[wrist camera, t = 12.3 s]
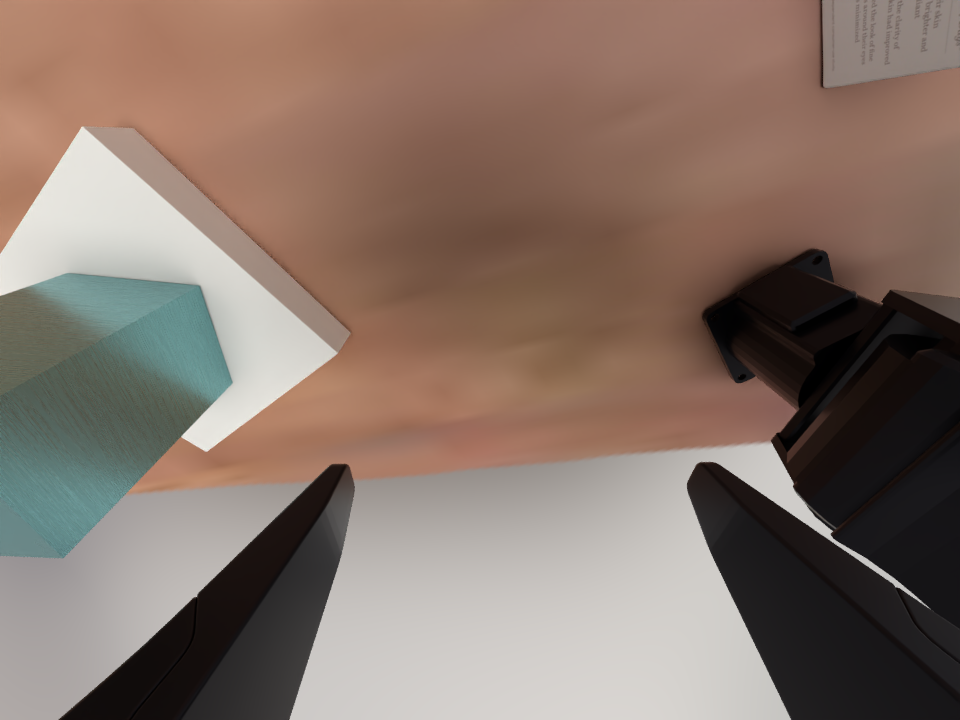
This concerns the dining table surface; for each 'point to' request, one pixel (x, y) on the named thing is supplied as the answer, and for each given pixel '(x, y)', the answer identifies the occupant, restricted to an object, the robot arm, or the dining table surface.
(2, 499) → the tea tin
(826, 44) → the small box
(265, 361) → the riser block
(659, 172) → the dining table surface
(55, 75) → the dining table surface
